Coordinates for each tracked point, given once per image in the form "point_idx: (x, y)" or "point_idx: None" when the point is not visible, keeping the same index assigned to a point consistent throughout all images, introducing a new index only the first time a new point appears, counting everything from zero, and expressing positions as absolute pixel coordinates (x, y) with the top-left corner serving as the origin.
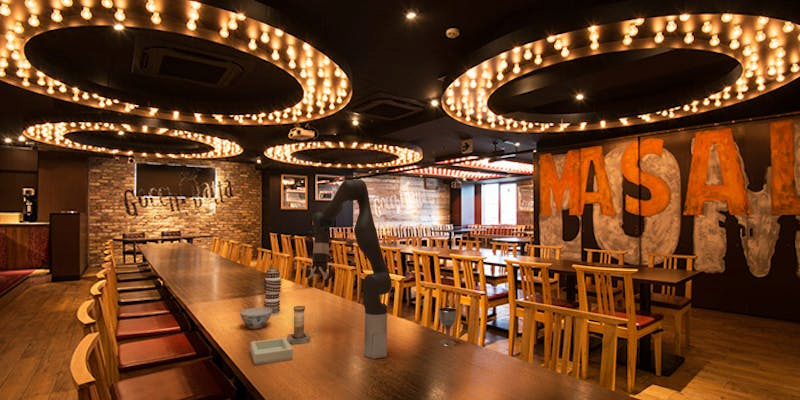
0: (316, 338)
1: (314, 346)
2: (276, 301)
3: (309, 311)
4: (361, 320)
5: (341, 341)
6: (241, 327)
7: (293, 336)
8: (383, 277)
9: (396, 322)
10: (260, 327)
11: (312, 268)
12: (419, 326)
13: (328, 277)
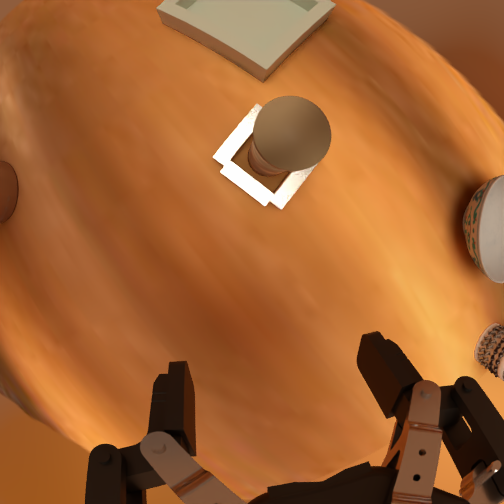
0: (222, 213)
1: (170, 136)
2: (501, 360)
3: None
4: (217, 439)
5: (120, 232)
6: None
7: None
8: None
9: None
10: (463, 219)
11: (450, 499)
12: (61, 432)
13: (134, 455)
